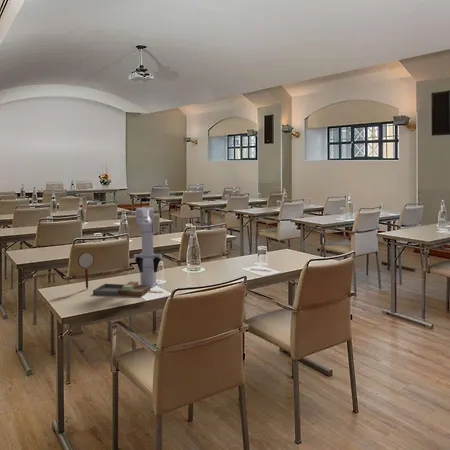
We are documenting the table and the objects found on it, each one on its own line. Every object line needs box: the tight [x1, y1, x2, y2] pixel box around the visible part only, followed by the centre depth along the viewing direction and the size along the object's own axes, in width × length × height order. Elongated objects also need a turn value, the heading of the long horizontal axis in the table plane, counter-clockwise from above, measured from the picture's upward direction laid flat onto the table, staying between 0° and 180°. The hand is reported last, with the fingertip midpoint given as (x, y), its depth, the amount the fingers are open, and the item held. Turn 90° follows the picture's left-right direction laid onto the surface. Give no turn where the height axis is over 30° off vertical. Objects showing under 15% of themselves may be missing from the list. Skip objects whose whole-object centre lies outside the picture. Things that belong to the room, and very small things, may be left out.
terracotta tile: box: [126, 281, 139, 288], centre depth 255 cm, size 4×4×2 cm
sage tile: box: [122, 283, 134, 291], centre depth 249 cm, size 4×4×2 cm
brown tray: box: [117, 284, 151, 298], centre depth 252 cm, size 12×13×2 cm
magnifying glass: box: [77, 251, 95, 290], centre depth 258 cm, size 9×2×20 cm, turn 126°
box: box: [92, 283, 125, 297], centre depth 255 cm, size 14×13×2 cm
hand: (148, 272), depth 250 cm, fingers open, 7 cm apart
